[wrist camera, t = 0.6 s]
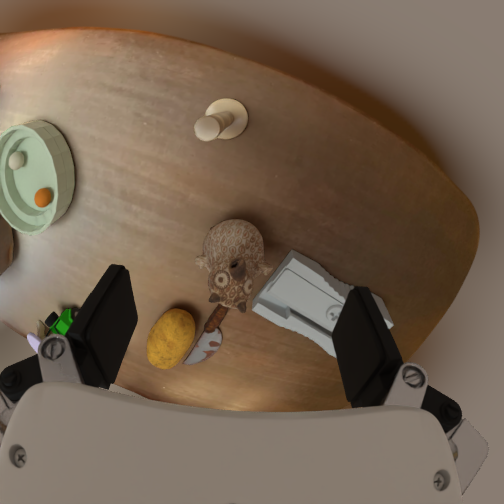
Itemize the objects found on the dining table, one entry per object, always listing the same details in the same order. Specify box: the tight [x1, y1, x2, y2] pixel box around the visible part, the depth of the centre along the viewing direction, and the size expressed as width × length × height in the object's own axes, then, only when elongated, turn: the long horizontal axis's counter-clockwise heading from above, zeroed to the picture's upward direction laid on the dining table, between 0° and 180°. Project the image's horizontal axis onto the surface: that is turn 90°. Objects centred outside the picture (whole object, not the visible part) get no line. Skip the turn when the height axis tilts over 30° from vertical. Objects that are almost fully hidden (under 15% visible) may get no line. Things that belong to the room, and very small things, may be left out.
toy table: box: [27, 321, 54, 353], centre depth 48 cm, size 10×9×6 cm
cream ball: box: [9, 151, 24, 170], centre depth 28 cm, size 3×3×3 cm
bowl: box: [0, 120, 75, 236], centre depth 29 cm, size 17×17×5 cm
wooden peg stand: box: [194, 98, 248, 142], centre depth 23 cm, size 5×5×15 cm
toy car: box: [45, 308, 80, 337], centre depth 44 cm, size 8×17×10 cm, turn 36°
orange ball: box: [34, 188, 51, 208], centre depth 31 cm, size 3×3×3 cm
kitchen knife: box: [183, 304, 229, 365], centre depth 48 cm, size 21×2×5 cm
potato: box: [147, 308, 195, 369], centre depth 43 cm, size 7×14×7 cm, turn 149°
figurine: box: [195, 219, 273, 313], centre depth 31 cm, size 9×10×15 cm
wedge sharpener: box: [252, 249, 394, 358], centre depth 40 cm, size 11×20×7 cm, turn 60°
